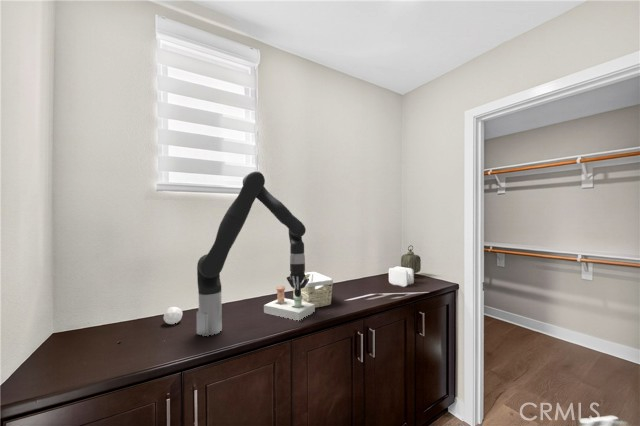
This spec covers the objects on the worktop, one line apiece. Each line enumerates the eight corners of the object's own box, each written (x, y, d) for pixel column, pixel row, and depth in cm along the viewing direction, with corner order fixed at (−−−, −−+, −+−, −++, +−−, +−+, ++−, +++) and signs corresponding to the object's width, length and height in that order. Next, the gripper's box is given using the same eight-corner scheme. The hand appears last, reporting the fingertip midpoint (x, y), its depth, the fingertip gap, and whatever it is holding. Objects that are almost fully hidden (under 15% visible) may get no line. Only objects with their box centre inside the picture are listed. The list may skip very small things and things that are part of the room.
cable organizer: (387, 283, 191) (387, 267, 191) (395, 281, 198) (395, 265, 199) (406, 287, 180) (406, 270, 180) (414, 285, 187) (414, 268, 187)
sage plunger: (299, 312, 132) (299, 298, 132) (291, 310, 134) (291, 297, 134) (304, 309, 136) (304, 295, 136) (297, 308, 138) (296, 294, 138)
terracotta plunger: (281, 302, 137) (281, 289, 137) (274, 301, 140) (274, 288, 140) (287, 300, 141) (287, 287, 141) (280, 299, 144) (280, 285, 144)
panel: (298, 321, 126) (298, 312, 126) (264, 312, 137) (263, 305, 137) (314, 311, 138) (314, 304, 138) (281, 304, 149) (281, 297, 149)
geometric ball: (169, 331, 123) (156, 320, 120) (174, 318, 130) (163, 308, 127) (183, 323, 123) (171, 311, 120) (188, 311, 130) (176, 300, 127)
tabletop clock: (411, 275, 217) (410, 244, 217) (421, 277, 210) (421, 245, 210) (401, 278, 208) (400, 245, 208) (411, 280, 201) (411, 246, 201)
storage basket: (290, 298, 161) (290, 273, 161) (314, 294, 169) (314, 270, 169) (307, 310, 140) (307, 282, 140) (334, 305, 147) (334, 278, 147)
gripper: (282, 262, 135) (282, 296, 135) (304, 264, 128) (304, 300, 128) (291, 259, 142) (291, 292, 141) (312, 261, 135) (313, 296, 135)
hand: (297, 296), depth 135 cm, fingers closed
